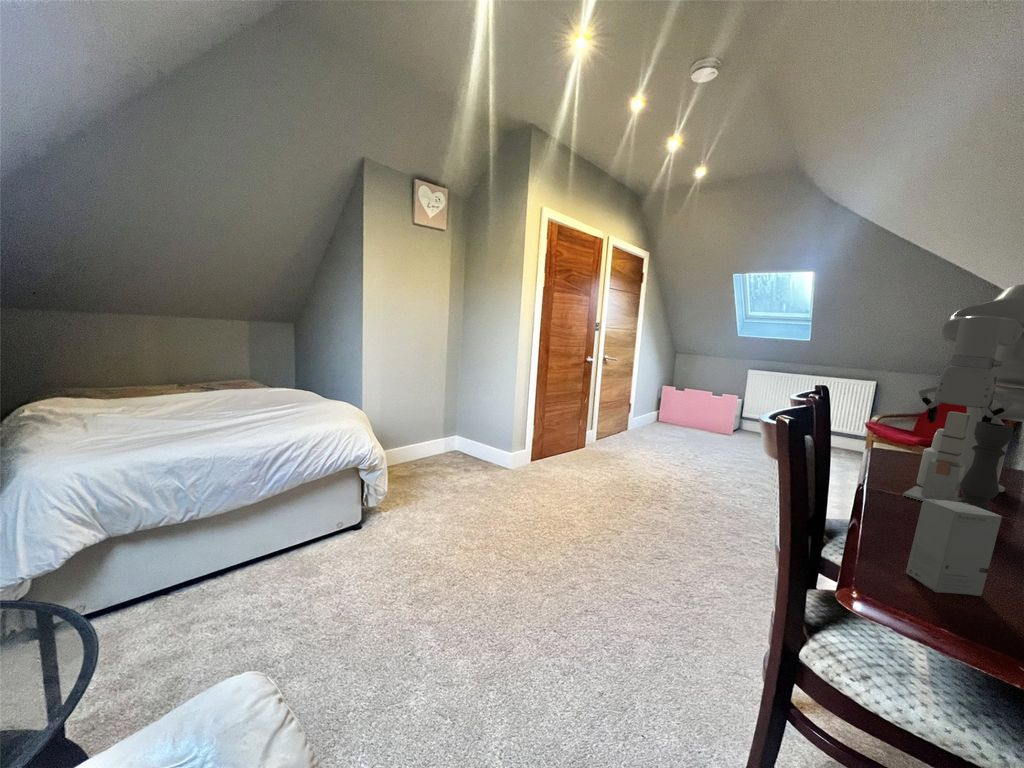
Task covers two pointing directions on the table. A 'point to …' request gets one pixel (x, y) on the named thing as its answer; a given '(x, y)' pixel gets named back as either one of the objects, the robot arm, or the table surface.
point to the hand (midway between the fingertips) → (956, 426)
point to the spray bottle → (929, 456)
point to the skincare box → (953, 546)
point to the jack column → (953, 437)
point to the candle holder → (985, 464)
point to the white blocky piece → (939, 482)
